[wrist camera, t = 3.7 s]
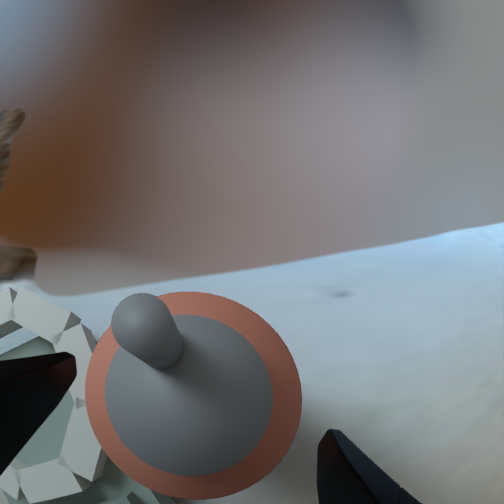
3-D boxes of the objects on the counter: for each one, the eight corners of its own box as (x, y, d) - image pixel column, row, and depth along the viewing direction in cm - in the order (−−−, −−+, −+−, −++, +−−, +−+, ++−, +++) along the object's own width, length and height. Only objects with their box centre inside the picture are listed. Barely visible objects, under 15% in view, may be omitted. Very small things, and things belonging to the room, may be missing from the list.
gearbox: (238, 560, 12) (246, 595, 8) (92, 595, 9) (71, 623, 4) (87, 288, 20) (60, 257, 15) (-31, 347, 16) (-70, 329, 12)
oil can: (265, 417, 17) (404, 440, 4) (187, 456, 16) (121, 580, 2) (222, 343, 19) (244, 191, 6) (145, 380, 18) (-7, 305, 4)
